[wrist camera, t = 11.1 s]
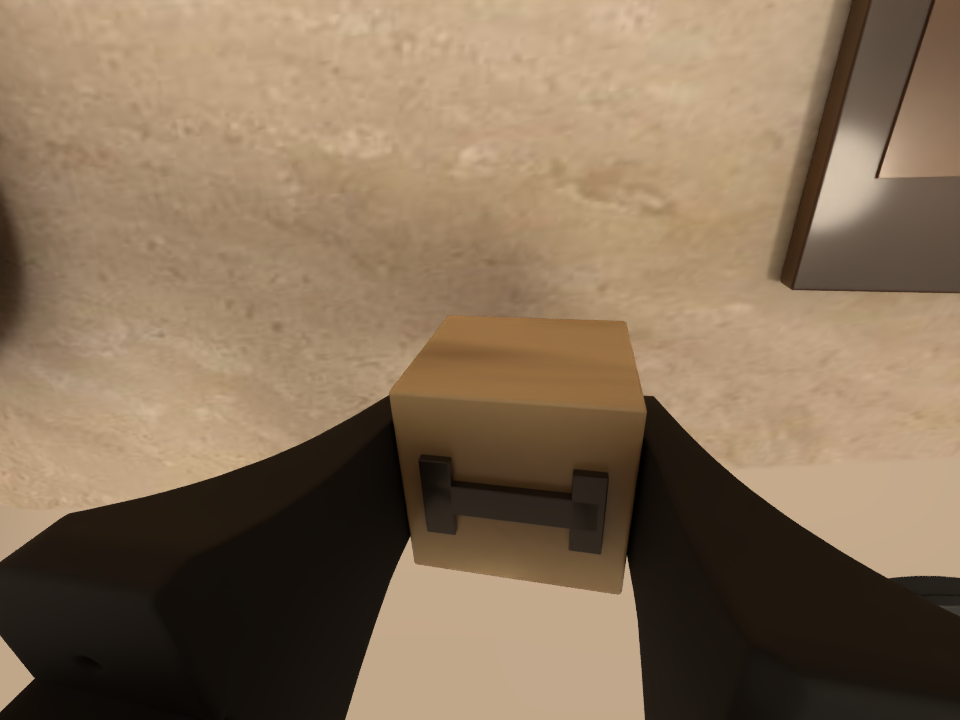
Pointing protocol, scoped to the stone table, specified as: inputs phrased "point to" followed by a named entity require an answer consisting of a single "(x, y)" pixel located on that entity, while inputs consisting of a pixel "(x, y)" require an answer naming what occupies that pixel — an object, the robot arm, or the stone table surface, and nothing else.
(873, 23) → the word board
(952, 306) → the stone table surface
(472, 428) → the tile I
